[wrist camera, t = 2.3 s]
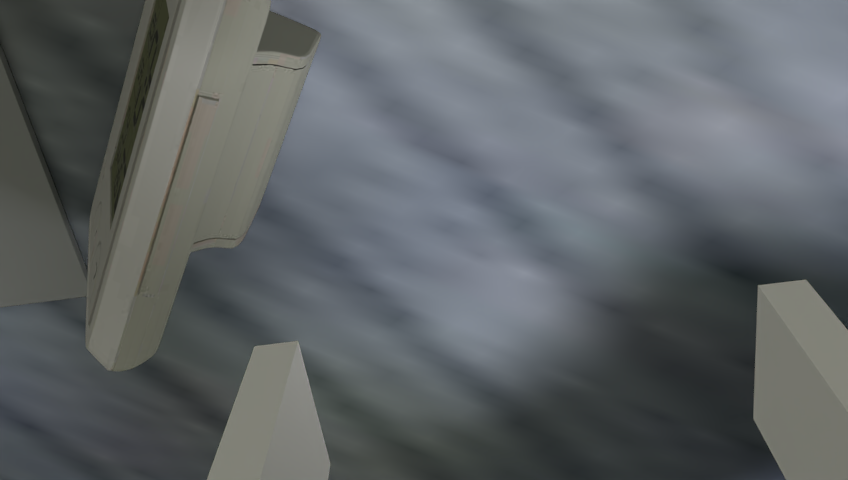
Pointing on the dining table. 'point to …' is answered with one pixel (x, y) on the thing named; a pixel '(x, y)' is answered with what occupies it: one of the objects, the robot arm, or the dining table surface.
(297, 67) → the digital clock
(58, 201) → the mat
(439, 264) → the dining table surface
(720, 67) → the dining table surface
